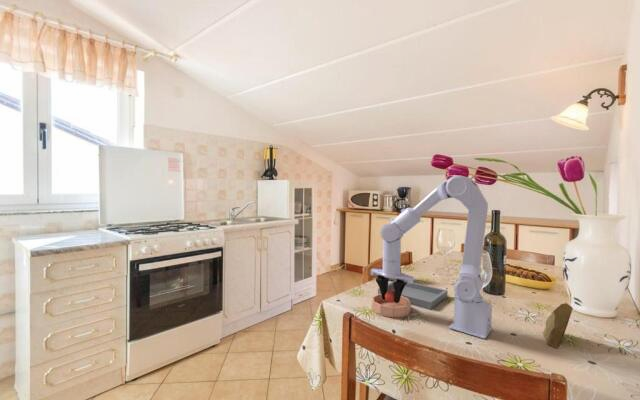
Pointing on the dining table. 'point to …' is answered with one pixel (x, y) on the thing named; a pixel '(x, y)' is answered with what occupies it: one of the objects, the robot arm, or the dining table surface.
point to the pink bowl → (390, 307)
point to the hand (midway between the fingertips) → (390, 300)
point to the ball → (390, 296)
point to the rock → (557, 324)
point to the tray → (421, 294)
